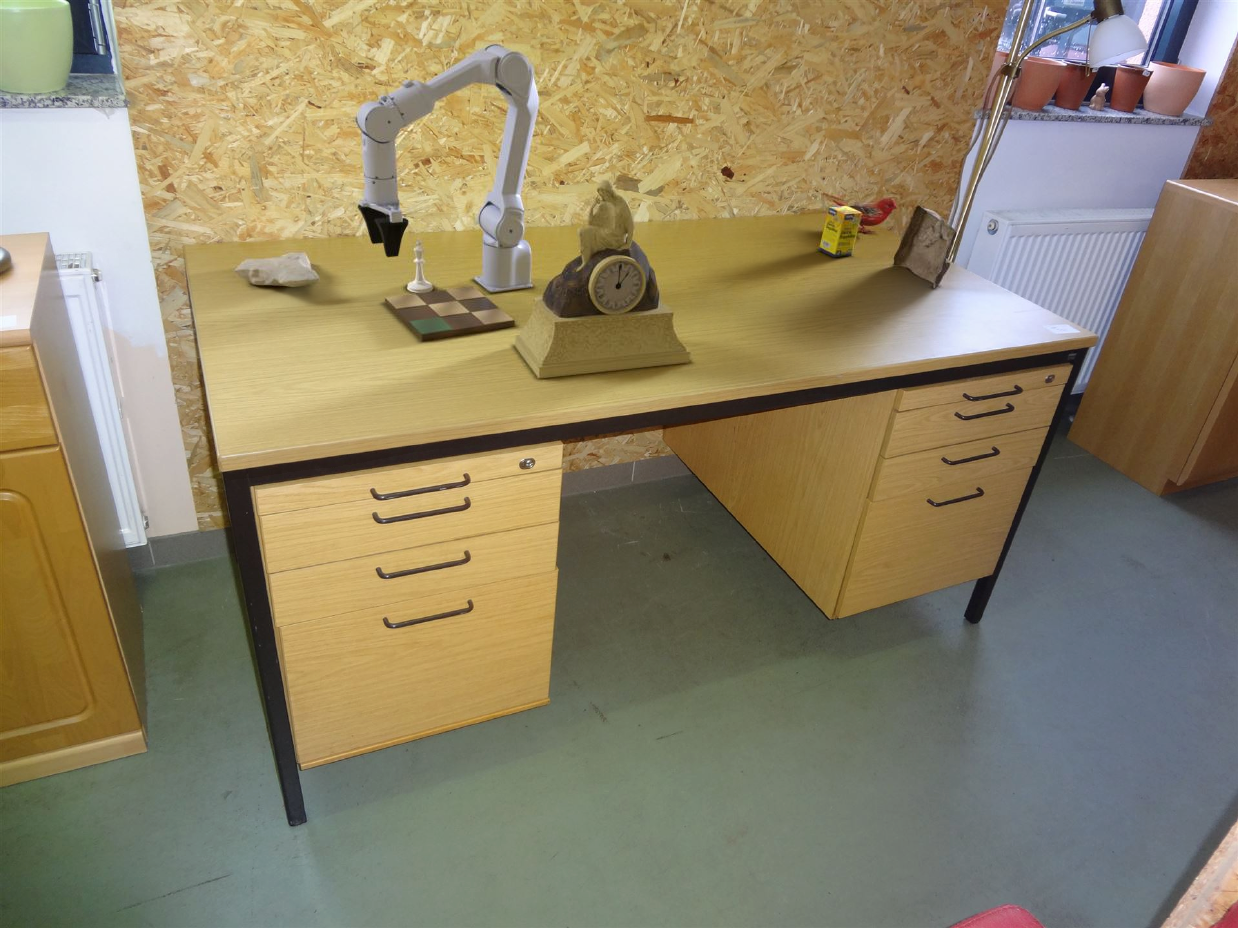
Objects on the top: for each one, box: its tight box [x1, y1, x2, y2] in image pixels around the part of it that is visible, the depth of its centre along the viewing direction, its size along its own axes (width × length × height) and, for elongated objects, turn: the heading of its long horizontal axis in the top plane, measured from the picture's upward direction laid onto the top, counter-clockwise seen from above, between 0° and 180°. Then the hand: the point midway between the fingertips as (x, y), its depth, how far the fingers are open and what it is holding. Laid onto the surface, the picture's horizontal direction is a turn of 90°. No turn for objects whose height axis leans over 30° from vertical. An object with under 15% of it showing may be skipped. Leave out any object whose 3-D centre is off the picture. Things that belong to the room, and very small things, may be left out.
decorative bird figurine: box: [832, 197, 898, 234], centre depth 233 cm, size 3×18×10 cm, turn 60°
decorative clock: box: [514, 179, 691, 379], centre depth 145 cm, size 28×13×30 cm, turn 114°
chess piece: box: [406, 238, 434, 294], centre depth 168 cm, size 5×5×10 cm
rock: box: [234, 251, 320, 288], centre depth 165 cm, size 21×5×15 cm
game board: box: [384, 285, 515, 342], centre depth 161 cm, size 18×18×1 cm
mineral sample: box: [892, 205, 958, 289], centre depth 202 cm, size 17×4×15 cm, turn 20°
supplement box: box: [819, 205, 862, 258], centre depth 213 cm, size 6×6×11 cm
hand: (384, 249), depth 160 cm, fingers open, 7 cm apart
